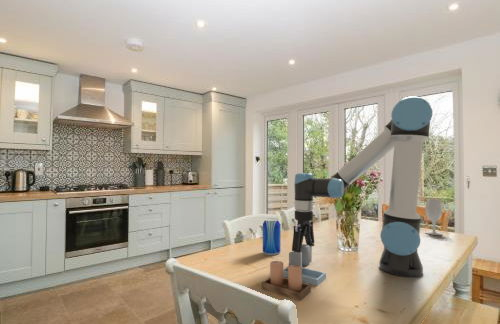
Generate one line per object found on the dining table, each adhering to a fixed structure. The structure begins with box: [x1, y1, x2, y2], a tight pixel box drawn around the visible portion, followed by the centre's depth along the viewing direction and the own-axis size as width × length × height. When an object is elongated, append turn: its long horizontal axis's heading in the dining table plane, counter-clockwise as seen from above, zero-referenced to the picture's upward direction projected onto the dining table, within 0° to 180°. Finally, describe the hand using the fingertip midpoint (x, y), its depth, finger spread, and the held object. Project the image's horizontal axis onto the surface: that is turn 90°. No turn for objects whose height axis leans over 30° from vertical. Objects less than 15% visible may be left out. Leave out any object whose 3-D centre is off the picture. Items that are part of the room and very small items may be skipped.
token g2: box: [301, 243, 310, 267], centre depth 115 cm, size 4×4×8 cm
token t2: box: [287, 265, 303, 293], centre depth 89 cm, size 4×4×8 cm
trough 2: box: [283, 266, 327, 287], centre depth 101 cm, size 14×8×2 cm, turn 53°
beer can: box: [262, 217, 282, 257], centre depth 131 cm, size 8×8×16 cm
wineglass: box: [424, 198, 444, 236], centre depth 169 cm, size 9×9×21 cm
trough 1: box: [261, 277, 312, 302], centre depth 91 cm, size 14×8×2 cm, turn 53°
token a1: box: [269, 260, 284, 288], centre depth 93 cm, size 4×4×8 cm
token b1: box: [288, 251, 301, 266], centre depth 103 cm, size 4×4×8 cm
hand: (303, 264), depth 115 cm, fingers open, 9 cm apart
